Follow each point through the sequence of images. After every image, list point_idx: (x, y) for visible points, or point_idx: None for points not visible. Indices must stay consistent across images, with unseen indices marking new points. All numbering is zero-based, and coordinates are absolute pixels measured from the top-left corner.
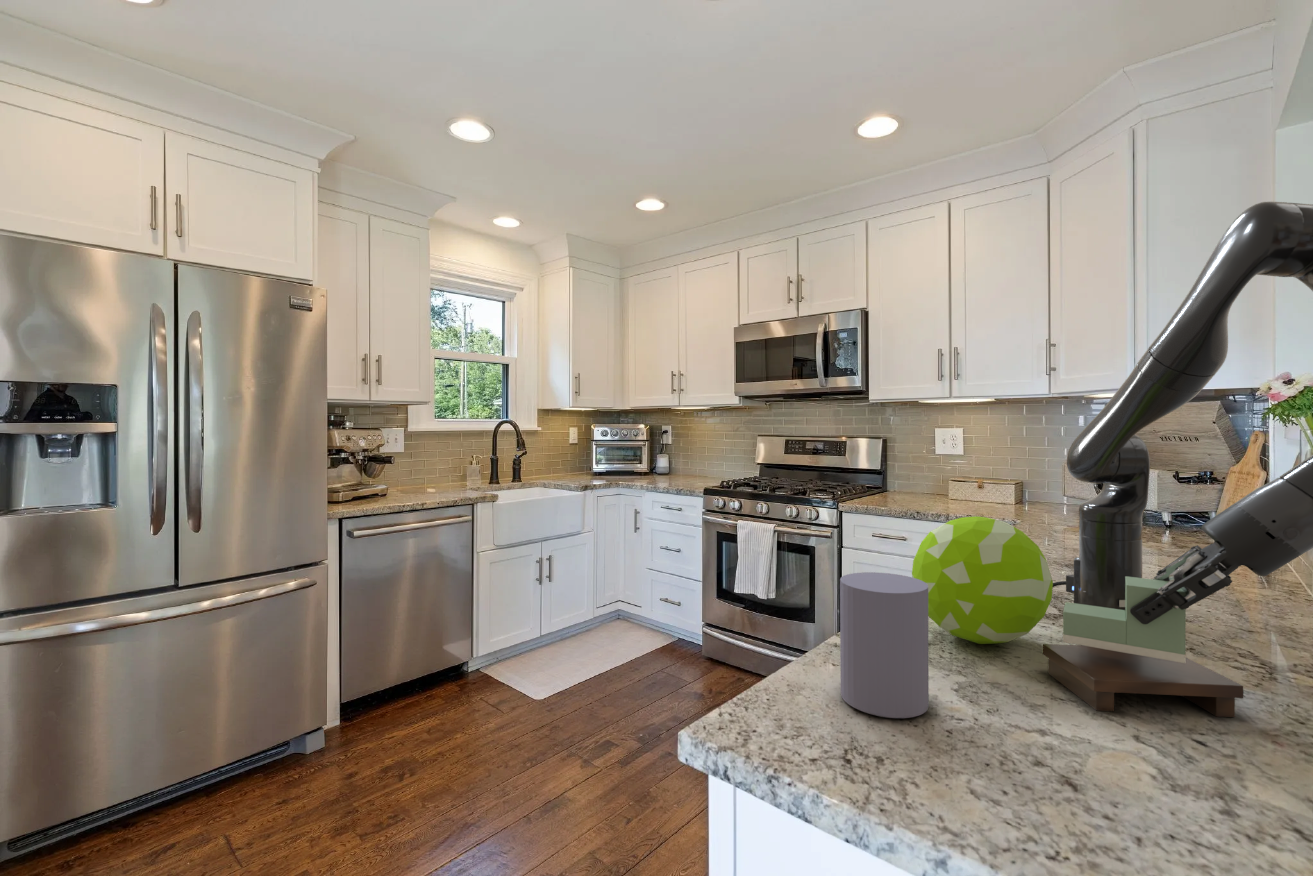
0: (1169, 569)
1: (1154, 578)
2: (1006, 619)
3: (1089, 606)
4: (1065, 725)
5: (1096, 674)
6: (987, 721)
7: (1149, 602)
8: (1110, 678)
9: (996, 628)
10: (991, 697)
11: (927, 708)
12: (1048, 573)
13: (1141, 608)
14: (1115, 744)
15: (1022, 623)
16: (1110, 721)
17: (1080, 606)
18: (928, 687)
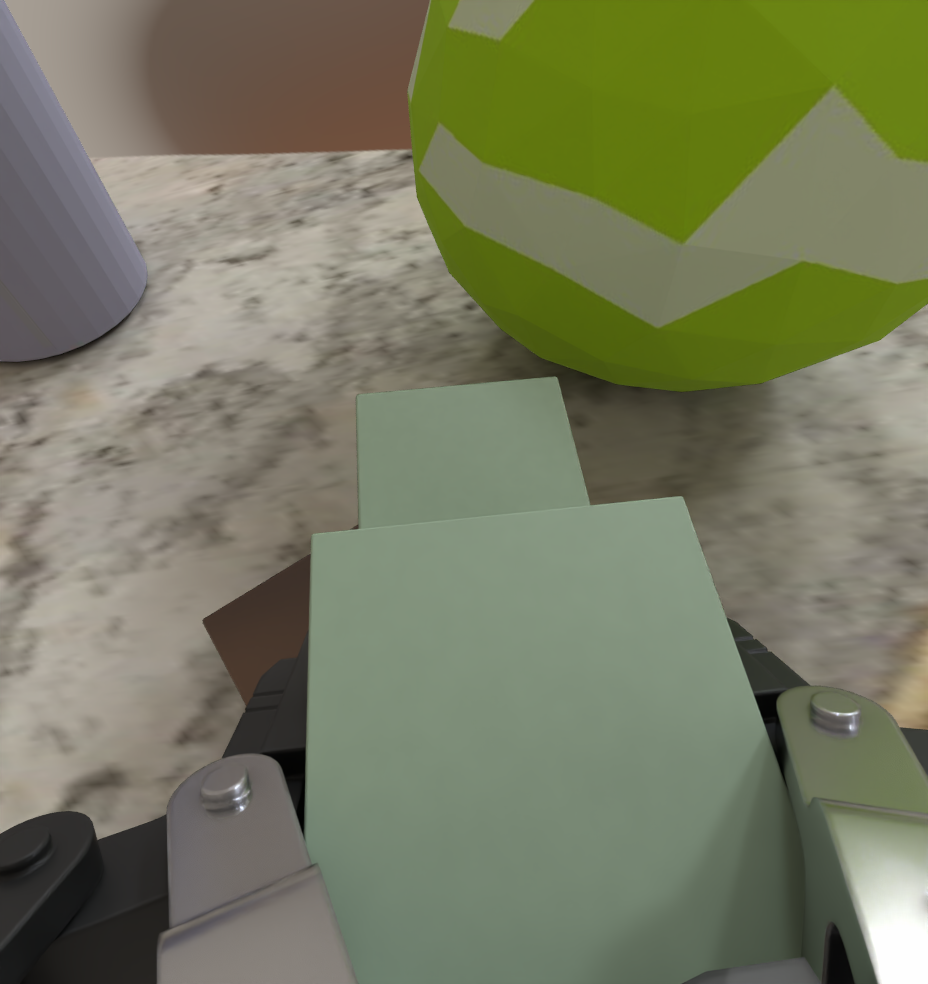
0: (818, 842)
1: (835, 697)
2: (483, 304)
3: (548, 460)
4: (99, 606)
5: (261, 618)
6: (36, 463)
7: (265, 722)
8: (242, 662)
9: (487, 313)
10: (202, 437)
11: (23, 359)
12: (807, 224)
13: (261, 684)
14: (20, 734)
15: (555, 349)
16: (196, 702)
17: (512, 431)
18: (6, 321)
